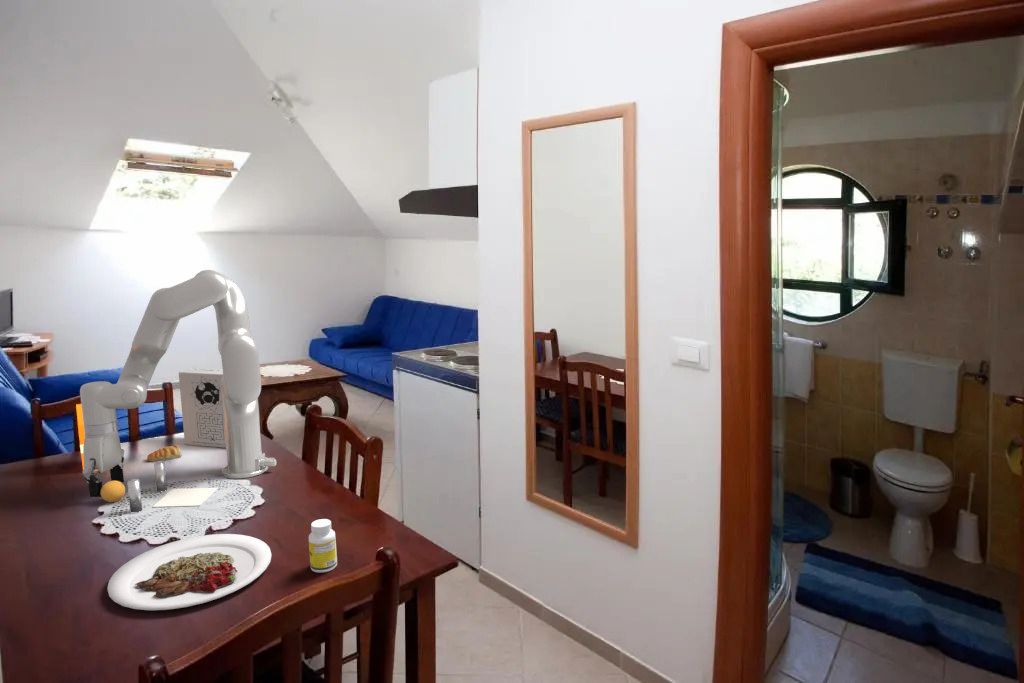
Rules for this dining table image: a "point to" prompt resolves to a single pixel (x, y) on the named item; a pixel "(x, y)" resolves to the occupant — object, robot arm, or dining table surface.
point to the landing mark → (185, 497)
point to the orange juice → (81, 429)
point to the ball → (112, 491)
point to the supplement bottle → (322, 546)
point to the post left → (134, 495)
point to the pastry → (165, 454)
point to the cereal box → (202, 407)
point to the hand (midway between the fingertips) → (107, 489)
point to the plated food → (189, 572)
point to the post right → (160, 476)
